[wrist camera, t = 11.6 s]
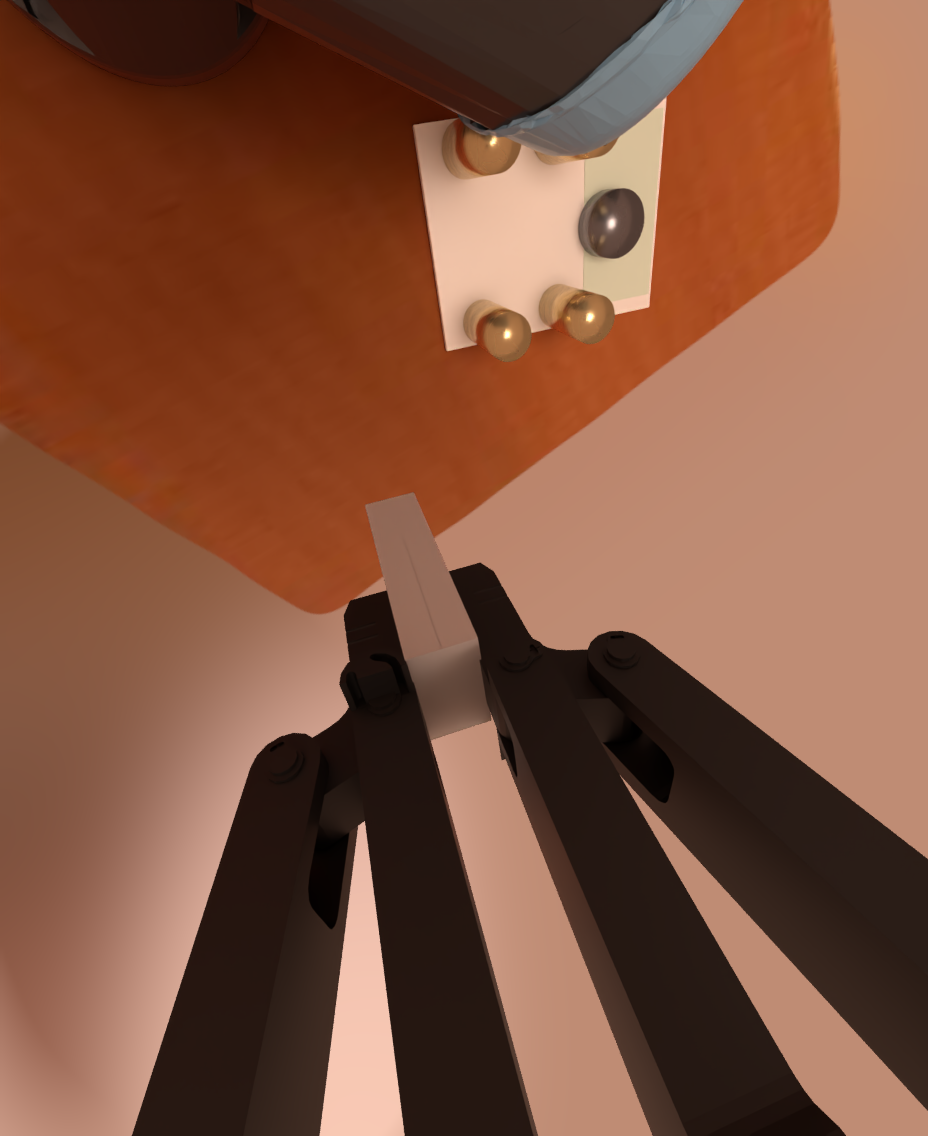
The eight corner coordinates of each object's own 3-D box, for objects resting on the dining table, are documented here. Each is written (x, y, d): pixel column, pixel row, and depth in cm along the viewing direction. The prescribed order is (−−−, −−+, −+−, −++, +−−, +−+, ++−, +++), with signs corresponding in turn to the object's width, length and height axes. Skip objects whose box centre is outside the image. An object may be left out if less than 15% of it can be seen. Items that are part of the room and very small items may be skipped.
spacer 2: (460, 303, 36) (486, 317, 32) (499, 295, 37) (530, 308, 32) (466, 347, 38) (490, 366, 33) (503, 338, 39) (532, 356, 34)
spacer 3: (530, 107, 31) (573, 88, 26) (574, 100, 32) (624, 80, 27) (532, 168, 33) (573, 161, 28) (575, 161, 33) (621, 153, 29)
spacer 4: (538, 286, 37) (575, 298, 32) (575, 281, 38) (616, 291, 33) (538, 330, 39) (572, 347, 34) (573, 324, 39) (612, 340, 35)
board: (412, 125, 30) (414, 124, 30) (662, 88, 33) (667, 86, 32) (445, 349, 38) (447, 351, 38) (645, 306, 41) (649, 307, 40)
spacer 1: (438, 121, 30) (465, 104, 26) (484, 114, 31) (520, 96, 26) (445, 183, 32) (472, 178, 27) (489, 175, 32) (523, 169, 28)
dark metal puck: (584, 186, 34) (598, 185, 33) (635, 191, 35) (651, 190, 34) (573, 255, 36) (586, 257, 35) (621, 258, 38) (636, 260, 36)
